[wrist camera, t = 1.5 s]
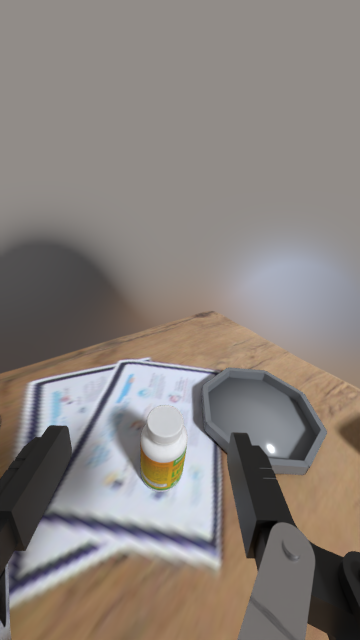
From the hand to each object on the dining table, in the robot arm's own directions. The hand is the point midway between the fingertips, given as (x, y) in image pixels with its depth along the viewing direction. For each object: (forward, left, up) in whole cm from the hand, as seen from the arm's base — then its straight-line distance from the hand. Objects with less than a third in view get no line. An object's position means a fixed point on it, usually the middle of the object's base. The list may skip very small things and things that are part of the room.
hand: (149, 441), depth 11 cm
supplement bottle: (-6, +7, -20) cm, 22 cm away
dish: (-2, +24, -20) cm, 31 cm away
